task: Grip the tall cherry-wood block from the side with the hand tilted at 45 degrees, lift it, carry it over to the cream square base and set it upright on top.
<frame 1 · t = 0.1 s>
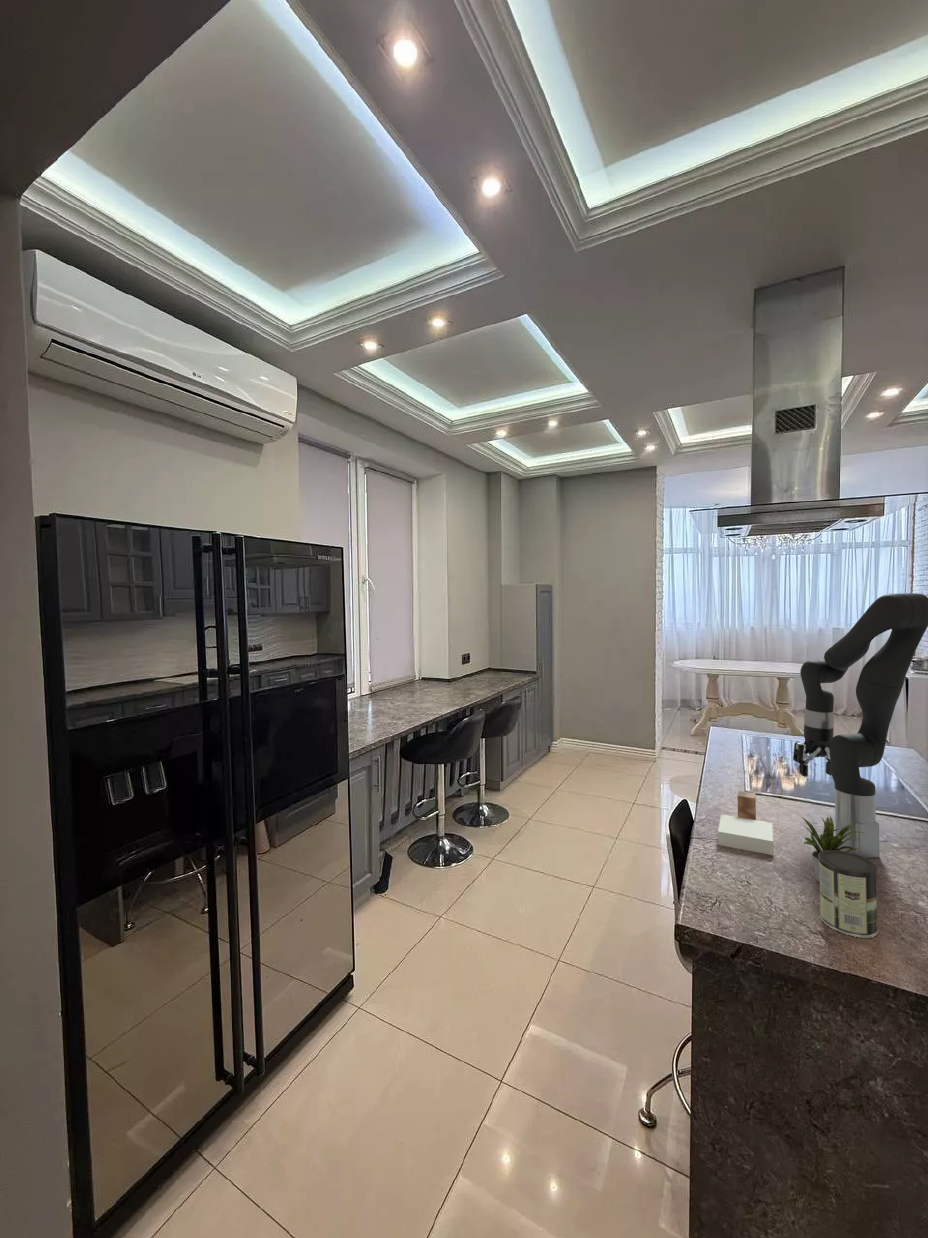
hand: (816, 775, 157), 17 cm above the countertop, tool pointing down, fingers open, 8 cm apart
house plant: (833, 884, 127), on the countertop
coffee can: (847, 924, 111), on the countertop
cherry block: (747, 823, 164), on the countertop
cream base: (745, 840, 152), on the countertop
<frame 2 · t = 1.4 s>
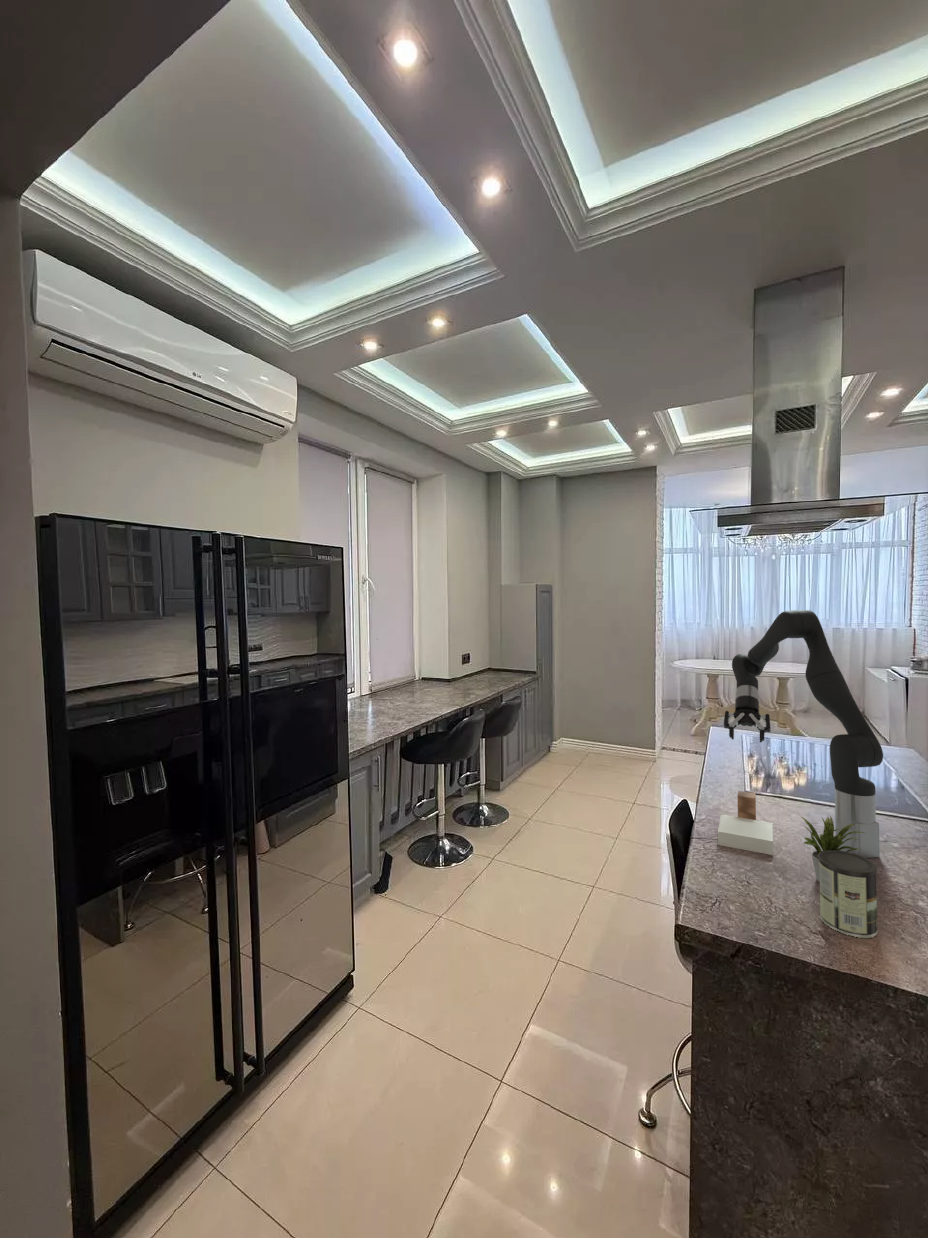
hand: (746, 739, 173), 25 cm above the countertop, tool tilted 45°, fingers open, 8 cm apart
nothing on the countertop moved.
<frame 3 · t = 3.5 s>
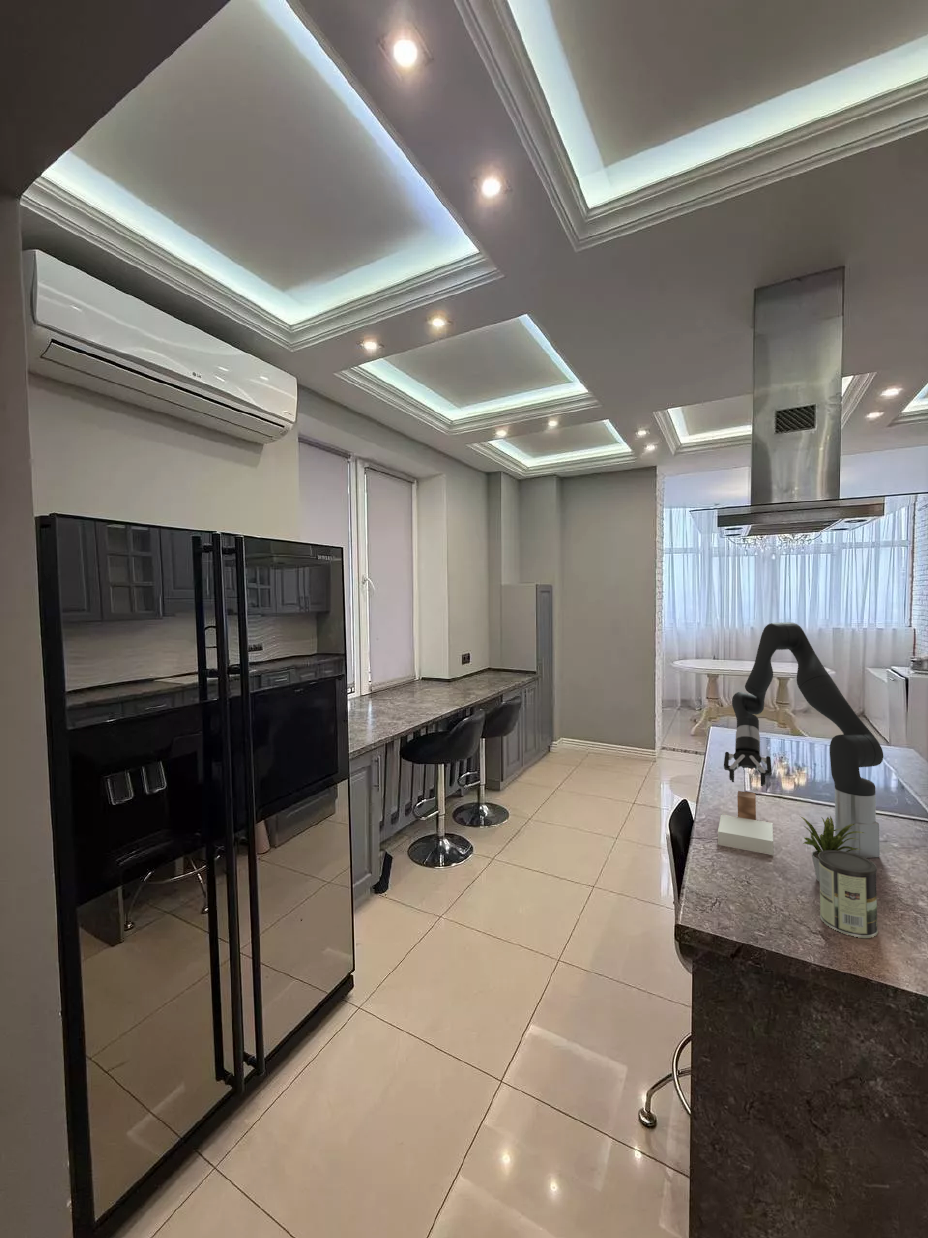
hand: (747, 783, 169), 11 cm above the countertop, tool tilted 45°, fingers open, 8 cm apart
nothing on the countertop moved.
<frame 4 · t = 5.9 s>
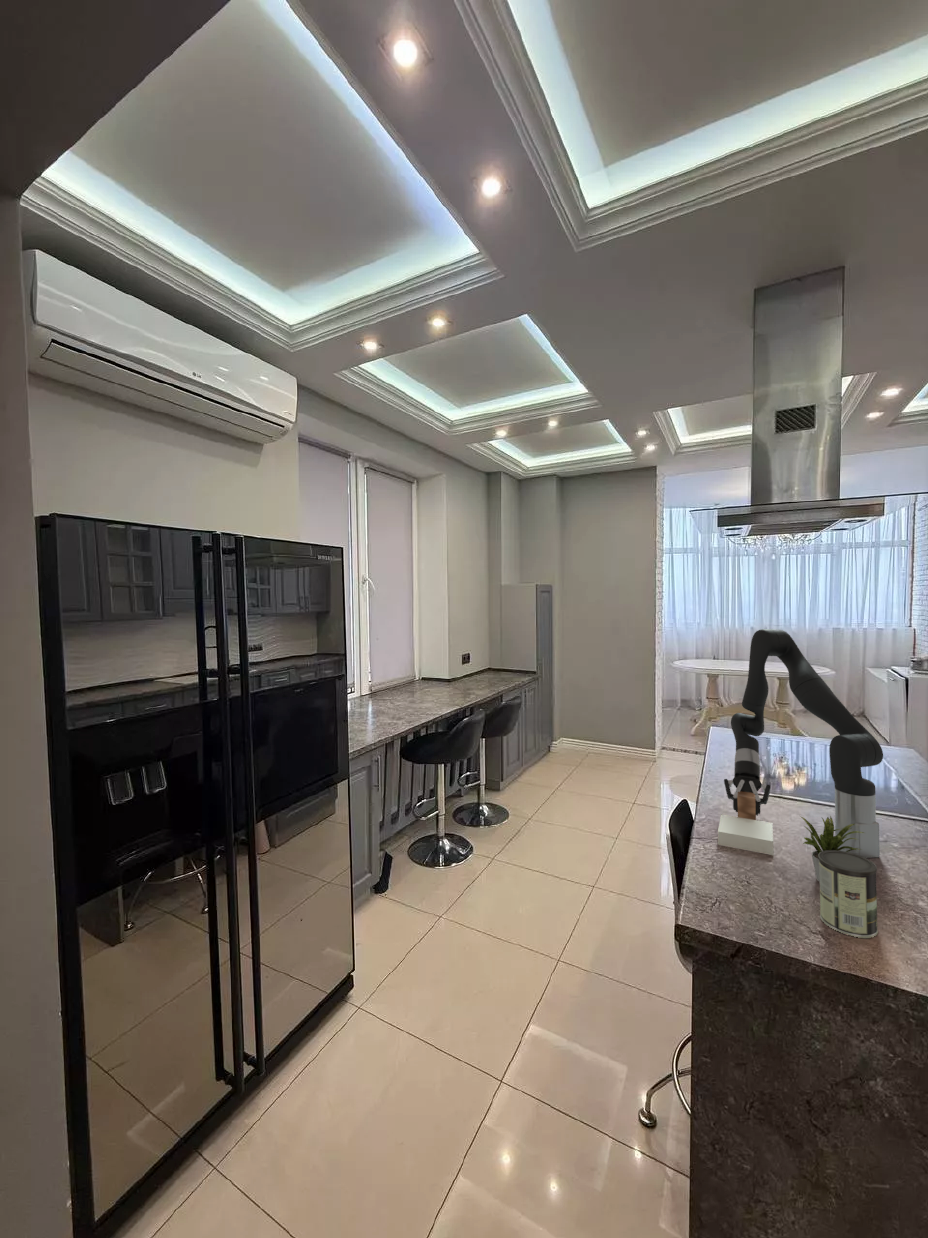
hand: (746, 812, 162), 4 cm above the countertop, tool tilted 45°, fingers closed on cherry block, 5 cm apart
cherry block: (747, 823, 164), on the countertop, touching gripper
everything else where it was.
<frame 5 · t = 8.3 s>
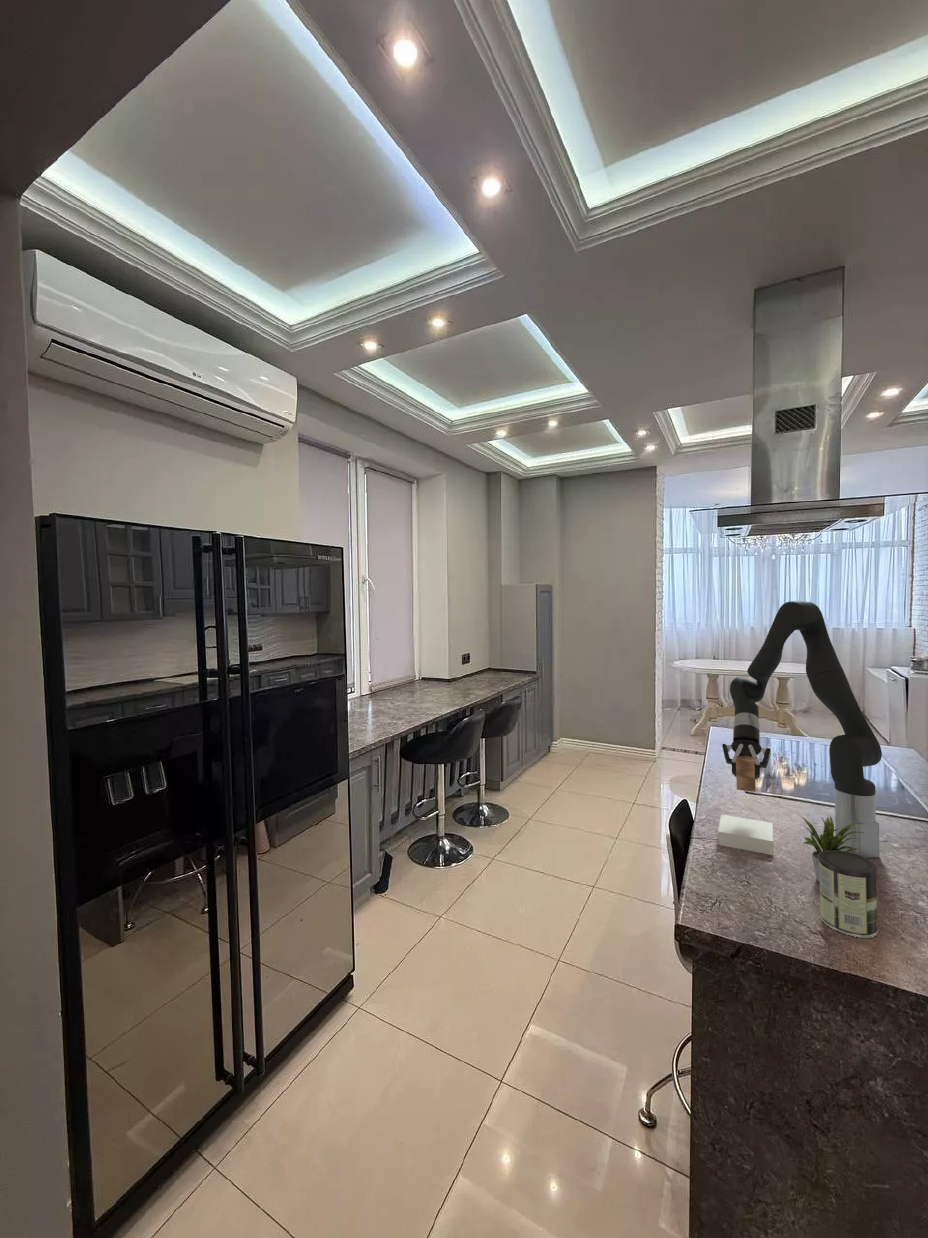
hand: (745, 776, 156), 18 cm above the countertop, tool tilted 45°, fingers closed on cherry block, 5 cm apart
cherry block: (746, 788, 157), point 14 cm above the countertop, touching gripper
everything else where it was.
when the fingers open (10 cm above the countertop, at t = 10.8 s): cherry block drops 1 cm, resting on cream base.
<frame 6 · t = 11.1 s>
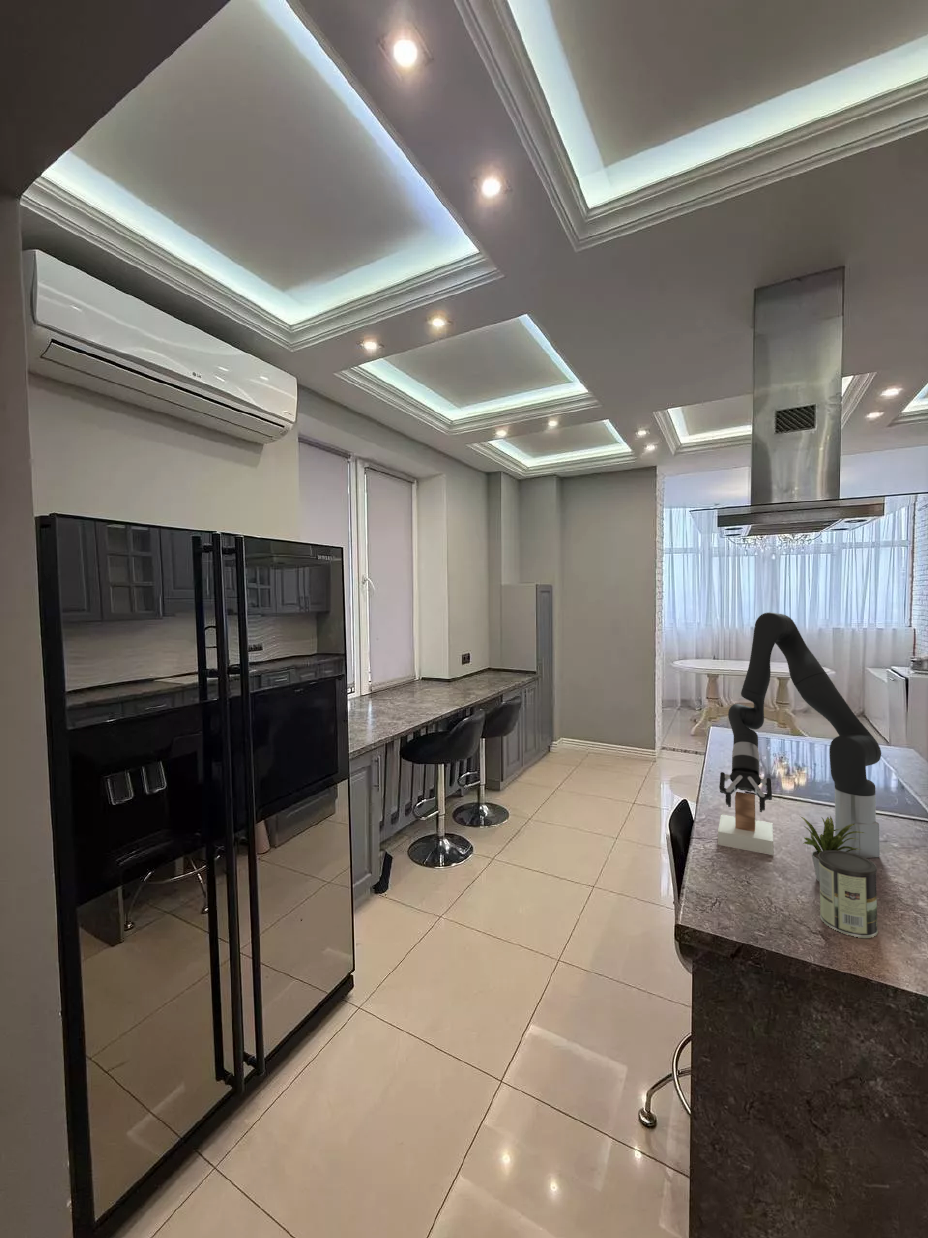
hand: (745, 808, 151), 10 cm above the countertop, tool tilted 45°, fingers open, 8 cm apart
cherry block: (745, 827, 152), point 4 cm above the countertop, touching cream base
everything else where it was.
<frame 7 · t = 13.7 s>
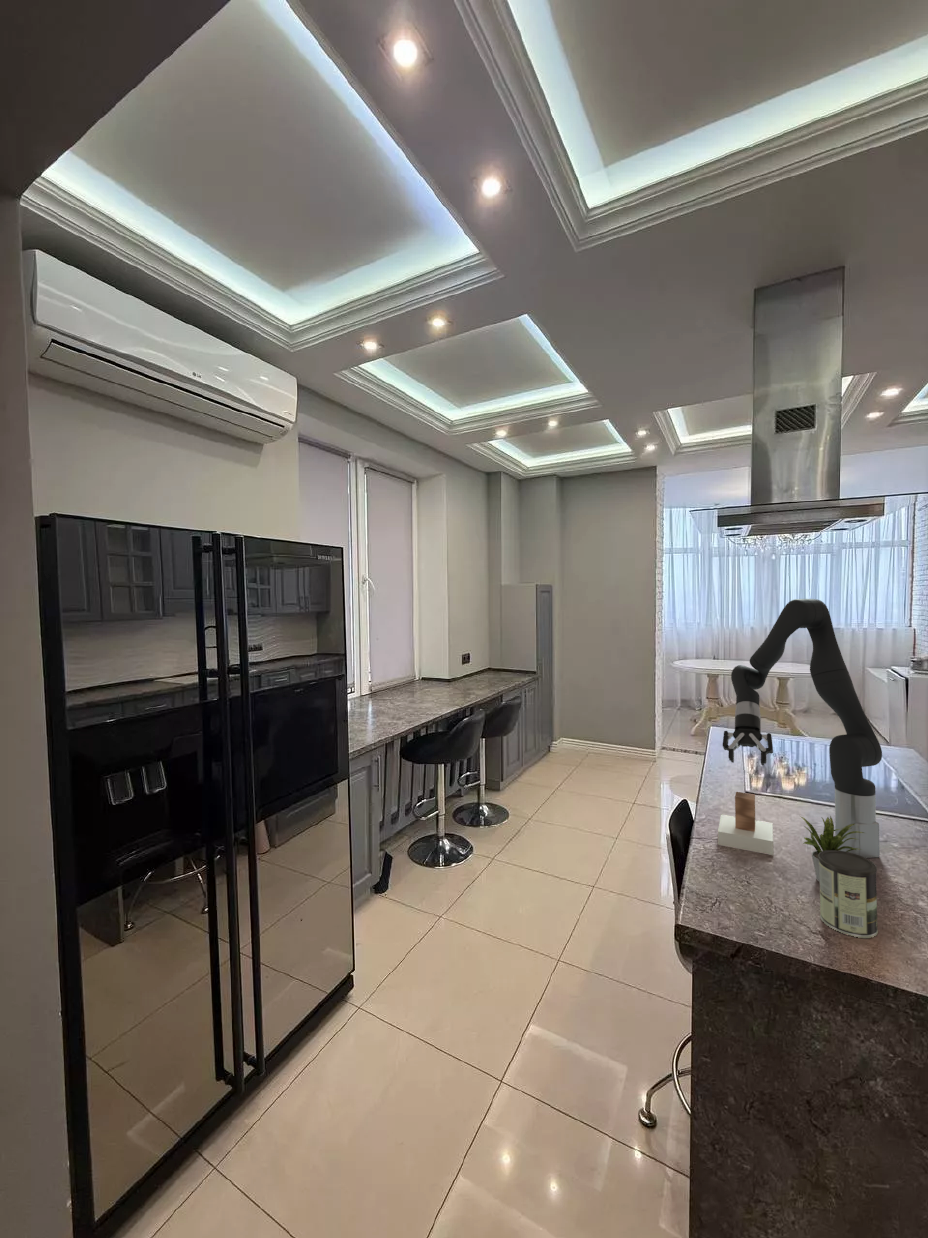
hand: (747, 762, 161), 20 cm above the countertop, tool tilted 40°, fingers open, 8 cm apart
nothing on the countertop moved.
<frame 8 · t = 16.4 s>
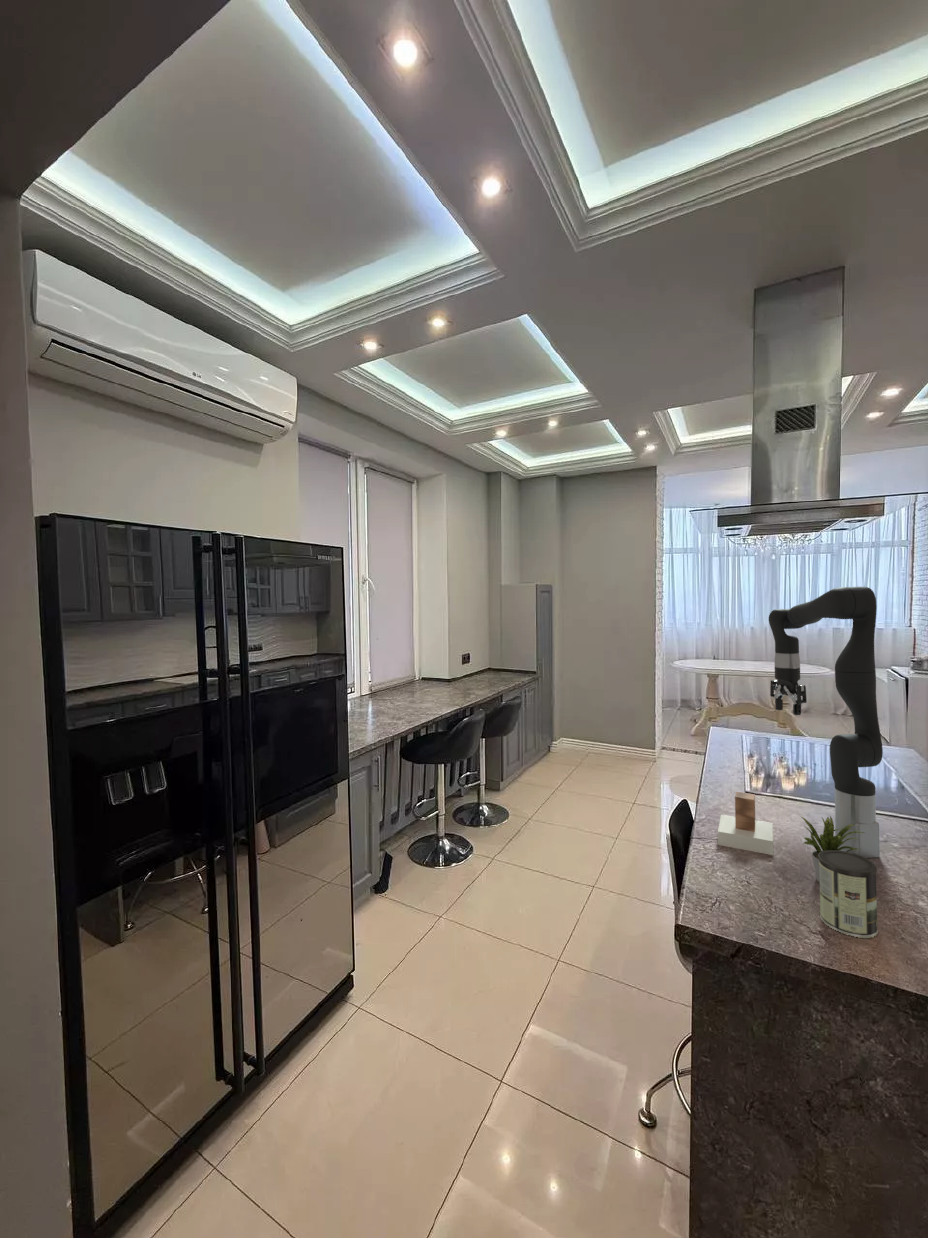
hand: (787, 712, 176), 33 cm above the countertop, tool pointing down, fingers open, 8 cm apart
nothing on the countertop moved.
at the end: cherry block inside the target area on the cream base (0.0 cm from its centre), point 4.0 cm above the cream base's base; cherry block tilted 0°; the gripper is holding nothing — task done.
